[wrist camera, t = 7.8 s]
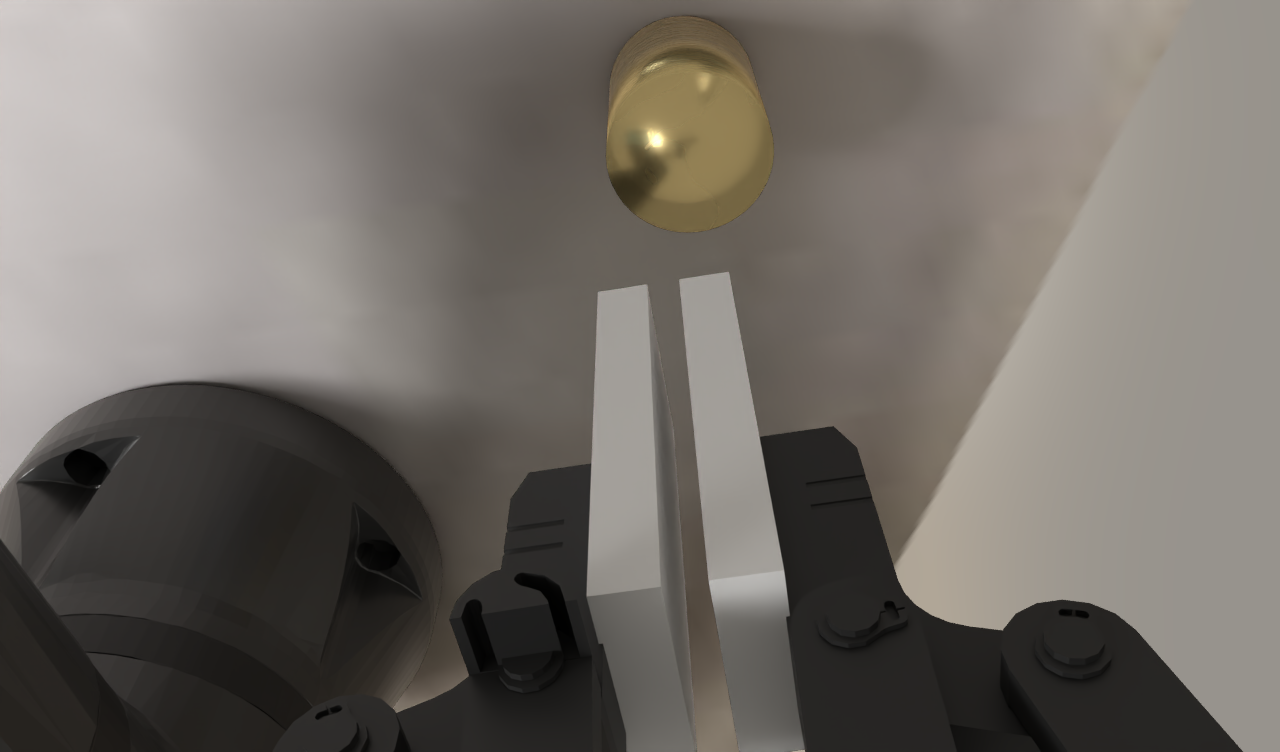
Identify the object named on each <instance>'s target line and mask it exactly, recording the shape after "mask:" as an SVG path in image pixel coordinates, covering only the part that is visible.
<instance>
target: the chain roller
mask: <svg viewBox="0 0 1280 752" xmlns="http://www.w3.org/2000/svg"><path fill="white" fill-rule="evenodd" d="M773 158H774V143H773V136H772V132H771V128H770V125H769V121H768V118H767V115H766V112H765V108H764V105H763V102H762V99H761V96H760V92H759V89H758V86H757V83H756V79H755V76H754V73H753V70H752V66H751V63H750V61H749V58H748V56H747V54H746V52H745V50H744V49H743V47H742V46H741V44H740V43H739V42H738V41H737V39H736V38H735V37H734V36H733V35H732V34H730V33H729V32H728V31H727V30H725V29H724V28H723V27H721V26H719V25H717V24H715V23H714V22H711V21H709V20H706V19H703V18H698V17H692V16H674V17H669V18H664V19H661V20H658V21H655V22H653V23H651V24H649V25H647V26H645V27H644V28H642V29H641V30H639V31H638V32H637V33H636V34H635V35H633V36H632V37H631V38H630V39H629V40H628V42H627V43H626V44H625V45H624V47H623V48H622V50H621V51H620V53H619V54H618V56H617V59H616V61H615V63H614V66H613V69H612V73H611V78H610V91H609V108H608V126H607V144H606V164H607V170H608V174H609V178H610V180H611V183H612V186H613V188H614V189H615V191H616V193H617V195H618V196H619V198H620V199H621V200H622V202H623V203H624V204H625V205H626V206H627V207H628V208H629V210H630V211H632V212H633V213H634V214H635V215H637V216H638V217H639V218H641V219H642V220H644V221H646V222H647V223H649V224H652V225H654V226H656V227H659V228H662V229H665V230H670V231H675V232H687V233H688V232H700V231H706V230H710V229H714V228H717V227H720V226H722V225H724V224H726V223H729V222H730V221H732V220H734V219H735V218H737V217H738V216H740V215H741V214H742V213H744V212H745V211H746V210H747V209H748V208H749V207H750V206H751V205H752V204H753V203H754V202H755V201H756V199H757V198H758V197H759V195H760V194H761V192H762V191H763V189H764V187H765V185H766V183H767V181H768V178H769V176H770V173H771V169H772V165H773Z"/></svg>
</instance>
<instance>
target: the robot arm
mask: <svg viewBox="0 0 1280 752" xmlns="http://www.w3.org/2000/svg"><path fill="white" fill-rule="evenodd" d="M679 285H680V295H681V305H682V316H683V326H684V336H685V346H686V356H687V366H688V376H689V387H690V397H691V407H692V417H693V427H694V437H695V447H696V458H697V468H698V478H699V488H700V498H701V508H702V519H703V529H704V539H705V549H706V559H707V569H708V579H709V585H710V591H711V597H712V602H713V608H714V613H715V619H716V625H717V630H718V636H719V641H720V647H721V653H722V658H723V664H724V669H725V675H726V681H727V686H728V692H729V697H730V703H731V709H732V714H733V720H734V725H735V731H736V737H737V742H738V748H739V752H789V751H797V750H805V752H1243V751H1242V750H1241V749H1240V748H1239V747H1238V745H1236V743H1235V742H1234V741H1233V740H1232V739H1231V738H1230V736H1229V735H1228V734H1227V733H1226V732H1225V731H1224V730H1223V728H1222V727H1221V726H1220V725H1219V724H1218V723H1217V722H1216V720H1215V719H1214V718H1213V717H1212V716H1211V715H1210V714H1209V712H1208V711H1207V710H1206V709H1205V708H1204V707H1203V706H1202V705H1201V703H1200V702H1199V701H1198V700H1197V699H1196V698H1195V697H1194V696H1193V694H1192V693H1191V692H1190V691H1189V690H1188V689H1187V688H1186V686H1185V685H1184V684H1183V683H1182V682H1181V681H1180V680H1179V678H1178V677H1177V676H1176V675H1175V674H1174V673H1173V672H1172V671H1171V669H1170V668H1169V667H1168V666H1167V665H1166V664H1165V663H1164V661H1163V660H1162V659H1161V658H1160V657H1159V656H1158V655H1157V653H1156V652H1155V651H1154V650H1153V649H1152V648H1151V647H1150V646H1149V645H1148V643H1147V642H1146V641H1145V640H1144V639H1143V638H1142V636H1141V635H1140V634H1139V633H1138V632H1137V631H1136V630H1135V629H1134V628H1133V627H1131V626H1130V625H1129V624H1128V623H1126V622H1125V621H1124V620H1123V619H1121V618H1120V617H1119V616H1118V615H1116V614H1115V613H1112V612H1110V611H1108V610H1105V609H1103V608H1100V607H1098V606H1095V605H1093V604H1090V603H1084V602H1076V601H1068V600H1057V601H1050V602H1043V603H1036V604H1034V605H1032V606H1030V607H1028V608H1026V609H1024V610H1022V611H1020V612H1018V613H1016V614H1015V616H1014V617H1013V618H1012V619H1011V621H1010V622H1009V623H1008V624H1007V626H1006V627H1005V628H1004V629H1003V631H1002V630H994V629H985V628H977V627H969V626H964V625H959V624H955V623H950V622H947V621H944V620H942V619H940V618H937V617H934V616H932V615H930V614H929V613H927V612H925V611H924V610H922V609H921V608H919V607H918V606H916V605H915V604H914V603H913V602H912V601H911V600H910V599H909V597H908V596H907V595H906V594H905V593H904V591H903V589H902V587H901V585H900V583H899V581H898V579H897V575H896V572H895V569H894V566H893V563H892V559H891V556H890V553H889V550H888V546H887V543H886V540H885V537H884V534H883V530H882V527H881V524H880V521H879V517H878V514H877V511H876V508H875V505H874V502H873V500H872V495H871V492H870V488H869V485H868V482H867V480H866V477H865V472H864V469H863V466H862V463H861V459H860V456H859V453H858V450H857V447H856V446H854V445H853V444H852V443H851V442H850V441H849V440H848V439H847V438H846V437H845V436H844V435H842V434H841V433H840V432H839V431H838V430H837V429H836V428H835V427H834V426H832V427H825V428H819V429H812V430H805V431H798V432H791V433H784V434H777V435H770V436H763V437H759V432H758V427H757V421H756V416H755V410H754V405H753V400H752V394H751V389H750V383H749V378H748V373H747V367H746V362H745V356H744V351H743V346H742V340H741V335H740V329H739V324H738V319H737V313H736V308H735V302H734V297H733V292H732V286H731V281H730V275H729V272H723V273H716V274H710V275H703V276H697V277H690V278H684V279H679ZM507 530H508V532H507V533H506V538H505V546H504V553H505V555H504V556H503V560H502V568H501V570H498V571H495V572H492V573H490V574H489V575H487V576H485V577H484V578H482V579H480V580H479V581H477V582H475V583H474V584H472V585H471V586H470V587H469V588H468V589H467V590H466V591H465V592H464V593H463V595H462V596H461V597H460V598H459V599H458V600H457V601H456V604H455V606H454V609H453V611H452V614H451V616H450V618H449V620H450V623H451V625H452V628H453V631H454V634H455V636H456V639H457V642H458V645H459V648H460V650H461V653H462V656H463V659H464V662H465V664H466V667H467V670H468V673H469V677H468V678H466V679H465V680H464V681H462V682H461V683H460V684H458V685H457V686H455V687H454V688H453V689H451V690H449V691H447V692H445V693H443V694H441V695H439V696H437V697H435V698H433V699H431V700H428V701H426V702H423V703H421V704H418V705H416V706H413V707H411V708H408V709H406V710H403V711H401V712H398V713H396V712H395V710H394V709H393V707H394V706H395V704H396V703H397V701H398V700H399V698H400V697H401V696H402V694H403V693H404V691H405V690H406V688H407V687H408V686H409V684H410V683H411V681H412V680H413V678H414V676H415V675H416V673H417V671H418V669H419V667H420V665H421V664H422V661H423V659H424V657H425V654H426V652H427V649H428V647H429V644H430V640H431V636H432V632H433V628H434V623H435V618H436V614H437V609H438V604H439V600H440V594H441V588H442V563H441V557H440V551H439V547H438V543H437V539H436V536H435V533H434V530H433V528H432V525H431V523H430V521H429V519H428V517H427V515H426V513H425V511H424V509H423V507H422V506H421V504H420V502H419V501H418V499H417V498H416V496H415V495H414V493H413V492H412V491H411V489H410V488H409V487H408V485H407V484H406V483H405V482H404V480H403V479H402V478H401V477H400V476H399V475H398V474H397V473H396V472H395V470H394V469H393V468H392V467H391V466H390V465H389V464H387V463H386V462H385V461H384V460H383V459H382V458H381V457H380V456H379V455H378V454H376V453H375V452H374V451H373V450H372V449H370V448H369V447H368V446H366V445H365V444H364V443H362V442H361V441H360V440H358V439H357V438H356V437H354V436H352V435H351V434H349V433H348V432H346V431H345V430H343V429H342V428H340V427H338V426H336V425H334V424H333V423H331V422H329V421H327V420H325V419H323V418H321V417H319V416H317V415H315V414H313V413H311V412H309V411H306V410H304V409H301V408H299V407H297V406H294V405H291V404H289V403H286V402H283V401H280V400H277V399H274V398H270V397H267V396H263V395H260V394H255V393H251V392H246V391H242V390H236V389H230V388H223V387H214V386H200V385H169V386H157V387H149V388H143V389H137V390H132V391H128V392H123V393H120V394H116V395H113V396H110V397H107V398H104V399H101V400H99V401H96V402H94V403H92V404H89V405H87V406H85V407H83V408H81V409H79V410H78V411H76V412H74V413H73V414H71V415H69V416H68V417H66V418H65V419H63V420H62V421H61V422H59V423H58V424H57V425H55V426H54V427H53V428H52V429H51V430H50V431H49V432H47V433H46V434H45V436H44V437H43V438H42V439H41V440H40V441H39V442H38V443H37V444H36V446H35V447H34V448H33V450H32V451H31V452H30V453H29V455H28V456H27V457H26V459H25V460H24V461H23V462H22V464H21V465H20V466H19V468H18V469H17V470H16V471H15V473H14V474H13V475H12V477H11V478H10V479H9V481H8V482H7V483H6V485H5V486H4V488H3V489H2V491H1V493H0V752H626V750H627V752H697V744H696V731H695V717H694V703H693V689H692V675H691V661H690V647H689V633H688V619H687V605H686V591H685V577H684V563H683V550H682V536H681V522H680V508H679V494H678V480H677V466H676V452H675V438H674V428H673V422H672V417H671V411H670V406H669V400H668V395H667V390H666V384H665V379H664V373H663V368H662V362H661V357H660V351H659V346H658V340H657V335H656V330H655V324H654V319H653V313H652V308H651V302H650V297H649V291H648V286H647V284H645V285H639V286H632V287H626V288H620V289H613V290H607V291H600V292H598V302H597V329H596V356H595V382H594V409H593V436H592V462H591V464H586V465H579V466H572V467H565V468H558V469H551V470H544V471H537V472H530V473H529V474H528V475H527V477H526V478H525V480H524V481H523V482H522V484H521V485H520V487H519V488H518V490H517V491H516V492H515V494H514V495H513V497H512V498H511V501H510V509H509V516H508V523H507Z"/></svg>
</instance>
